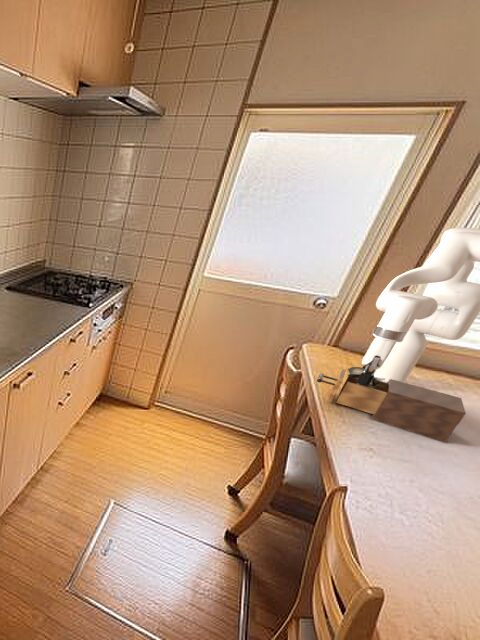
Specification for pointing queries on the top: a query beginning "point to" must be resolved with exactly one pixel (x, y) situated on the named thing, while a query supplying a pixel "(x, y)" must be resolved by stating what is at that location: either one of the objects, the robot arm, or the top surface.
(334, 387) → the drawer
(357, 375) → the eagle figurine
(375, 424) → the top surface
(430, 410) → the cabinet
